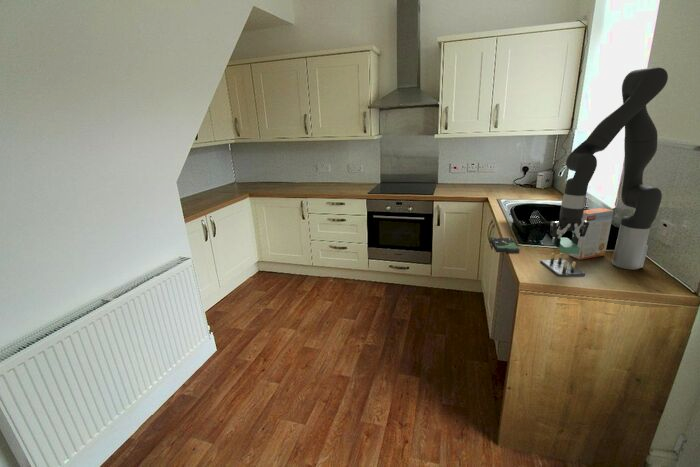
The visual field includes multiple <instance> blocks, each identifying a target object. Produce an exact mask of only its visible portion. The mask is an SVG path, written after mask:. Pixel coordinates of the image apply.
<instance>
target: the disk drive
mask: <svg viewBox="0 0 700 467" xmlns="http://www.w3.org/2000/svg"><path fill="white" fill-rule="evenodd" d="M489 243H490V244H491V246H492V247H493V249H494V251H495V252H496V253H507V254H508V253H510V254H513V253H514V254H515V253H516V254H519V253H520V248H519V247H520V246H518V244H517V243H516V242H515V240H514V239H513V238H511V237H498V238H496V237H490V238H489Z"/></svg>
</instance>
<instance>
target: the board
mask: <svg viewBox="0 0 700 467" xmlns="http://www.w3.org/2000/svg"><path fill="white" fill-rule="evenodd" d="M554 239H555V237H553V236H552V240H551V244H552V245H554ZM556 248H557V249H558V250H559V251H560V253H563V254H566V255H567V254H569V255H570V254H579V251H580V247H578V246H577V245H576V244H575V243H573V242H572V239H570V238H568V237H562V236H561V241H560V245H559V247H556Z"/></svg>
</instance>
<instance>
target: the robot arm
mask: <svg viewBox="0 0 700 467" xmlns="http://www.w3.org/2000/svg"><path fill="white" fill-rule="evenodd" d="M668 80H669V76H668V71H667V70H666V69H665V68H663V67H659V66H656V67H653V66H652V67H648V68H639V69H635V70H632V71H630V72H629V73H628V74H626V75H625V77H624V78H623V80H622V85H621V97H622V104H621V105H620V106H619V107H618V108H617V109H615V110H614V111H613V112H611V113H610V114H609V115H607V116H606V117H605V118H604V119H602V121H600V122H599V123H598V124H597V126H596V127H595V128H593V131H592V132H590V134H589V135H588V137H587V138H586V139H585V140H584V141H583V142H581V143H580V144H579V145H578V146H577V147H575V149H574V150H572V151H571V152H570V153H569V155H568V156H567V158H566V160H565V166H566V167H567V169H568V170H570V171H574V174H573V177H571V178H568V179H567V181H566V182H565V187H564V193H563V197H562V201H561V205H560V211H559V219H558V221H557V220H556V221H553V220H551V221H550V223H549V224H550V225H549V230H550V232H549V234H550V236H552V238H553V237H555V239H554V244H553V245H554V246H555V247H556V248H557V247H559V245H560V241H561V237H562V236H563V235H565V233H566V232H572V236H574V237H572V236H571V241H572V242H573V243H575V244H576V245H577V244H578V240H579V238H580V237H582V236H583V237H584V236H585V234H586V231H587V229H588V226H589V222H587V221H582V220H581V219H582V217H583V212H584V210H585V207H586V202H587V201H586V200H587V197H586V196H587V192H588V187H589V183H590V181H591V180H592V178H593V175H594V173H595V172H596V170H597V167H598V166H597V165H598V160H597V157H596V156H595V155H594V154H596V153H598V152H602V151H605V150H606V149H607V147H608V146H609V145H610V144H611V143H612V141H613V140H614V139H615V138H616V136H617V135H618V134H619V133H620V132H621V130H623V128H624V148H623V149H624V167H623V169H624V170H623V172H624V173H623V179H622V180H623V181H622V187H621V196H620V197H621V202H622V203H623V205H625V206H626V207H629V208H632V209H635V211H634V213H633V215H625V216H623V217H622V218H621V220H620V226H619V229H618V234H617V239H616V242H615V243H616V244H615V247H614V252H613V255H612V260H611V264H612V265H613V266H615V267H617V268H621V269H624V270H631V271H633V270H634V271H635V270H639V269H641V268H643V267H644V264H645V260H646V257H647V252H648V249H649V246H648V244H647V242H648V238H649V234H650V231H651V227H652V224H653V222H654V221H655V220H656V218H657V213H658V211H659V208H660V206H661V203H662V198H663V197H662V196H663V194H662V191H661V189H660V188H658V187H656V186H655V187H654V186H650V185H645V184H644V183H643V182H644V180H643V178H644V171H645V169H646V167H647V166H648V165H649V163H650V162H651V161H652V159H653V158H654V156H655V155H656V153H657V150H658V130H657V127H656V125H655V123H654V122H653V120H652V118H651V116H650V114H649V112H648V109H647V105H648V104H649V103H650V102H651V101H652V100H653V99H655V97H656V96H657V95H659V94H660V93H661V91H662V90H663V89H664V88H665V86H666V85H667V83H668ZM580 225H581V227H580V230H579V229H578V227H579V226H580ZM557 227H558V228H557Z"/></svg>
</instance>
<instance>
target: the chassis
mask: <svg viewBox="0 0 700 467" xmlns="http://www.w3.org/2000/svg"><path fill="white" fill-rule="evenodd" d="M555 255H556V253H555V252H552V253H551V257H550V259H541V260H540V263H541V265H543V266H545V267H546V268H547V269H549V270H550V271H551V272H552V273H553V274H555V275H556V276H557V277H562V278H563V277H585V276H586V273H585V272H583V271H582V270H580V269H579V268H577V267H576V265H577V261H574V260H573V261H572V262H571V263H570V262H569V261H567V260H566V259H563V255H564V253H562V252H559V255H558V259H555V257H556V256H555Z"/></svg>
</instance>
